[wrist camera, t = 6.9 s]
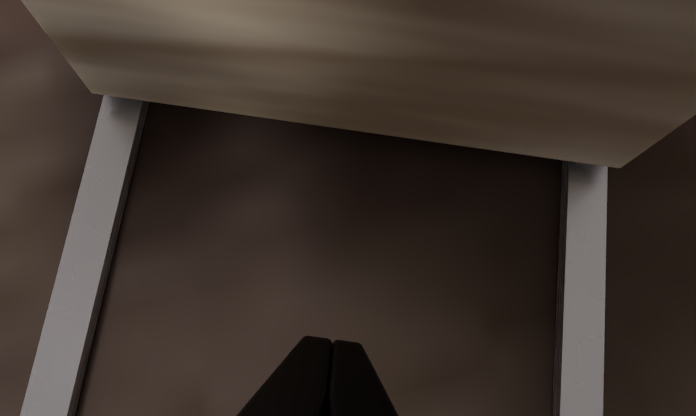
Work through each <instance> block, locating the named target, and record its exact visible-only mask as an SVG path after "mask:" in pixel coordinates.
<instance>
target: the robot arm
mask: <svg viewBox="0 0 696 416" xmlns="http://www.w3.org/2000/svg"><path fill="white" fill-rule="evenodd" d="M237 416H398V414H397V412H396V410H395V408H394V406H393V404H392V402H391V400H390V398H389V397H388V395H387V393H386V391H385V389H384V387H383V385H382V383H381V381H380V379H379V377H378V375H377V373H376V371H375V369H374V368H373V366H372V364H371V362H370V360H369V358H368V356H367V354H366V352H365V350H364V348H363V347H362V345H361V344H360V343H357V342H350V341H343V340H335V341H334V342H333V344H332V342H331V340H330V339H328V338H321V337H313V336H305V337H303V338H302V339H301V340H300V341H299V343H298V344H297V345H296V346H295V347H294V349H293V350H292V351H291V352H290V353H289V354H288V356H287V357H286V358H285V359H284V360H283V361H282V363H281V364H280V365H279V366H278V367H277V369H276V370H275V371H274V372H273V373H272V374H271V376H270V377H269V378H268V379H267V380H266V381H265V383H264V384H263V385H262V386H261V387H260V389H259V390H258V391H257V392H256V393H255V394H254V396H253V397H252V398H251V399H250V400H249V401H248V403H247V404H246V405H245V406H244V407H243V409H242V410H241V411H240V412H239V413H238V414H237Z"/></svg>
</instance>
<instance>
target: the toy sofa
mask: <svg viewBox="0 0 696 416" xmlns="http://www.w3.org/2000/svg"><path fill="white" fill-rule="evenodd" d="M21 1H22V2H23V4H24V5H25V6H26V8H27V9H28V10H29V12H30V13H31V14H32V16H33V17H34V18H35V19H36V21H37V22H38V23H39V25H40V26H41V27H42V29H43V30H44V31H45V33H46V34H47V35H48V37H49V38H50V39H51V40H52V42H53V43H54V44H55V46H56V47H57V48H58V50H59V51H60V52H61V54H62V55H63V56H64V58H65V59H66V60H67V62H68V63H69V64H70V65H71V67H72V68H73V69H74V71H75V72H76V73H77V75H78V76H79V77H80V79H81V80H82V81H83V83H84V84H85V85H86V86H87V88H88V89H89V90H90V92H91V93H93V94H100V95H107V96H114V97H121V98H128V99H135V100H142V101H149V102H156V103H163V104H171V105H178V106H185V107H192V108H199V109H206V110H213V111H220V112H227V113H234V114H241V115H248V116H255V117H262V118H269V119H276V120H283V121H290V122H297V123H304V124H311V125H318V126H325V127H332V128H339V129H346V130H353V131H360V132H368V133H375V134H382V135H389V136H396V137H403V138H410V139H417V140H424V141H431V142H438V143H445V144H452V145H459V146H466V147H473V148H480V149H487V150H494V151H501V152H508V153H515V154H522V155H529V156H536V157H543V158H550V159H558V160H565V161H572V162H579V163H586V164H593V165H600V166H607V167H614V168H621V167H623V166H624V165H626V164H627V163H628V162H630V161H631V160H633V159H634V158H635V157H637V156H638V155H640V154H641V153H642V152H644V151H645V150H647V149H648V148H649V147H651V146H652V145H654V144H655V143H656V142H658V141H659V140H661V139H662V138H664V137H665V136H666V135H668V134H669V133H671V132H672V131H673V130H675V129H676V128H678V127H679V126H680V125H682V124H683V123H685V122H686V121H687V120H689V119H690V118H692V117H693V116H694V115H696V0H21Z"/></svg>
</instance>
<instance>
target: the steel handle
mask: <svg viewBox="0 0 696 416" xmlns="http://www.w3.org/2000/svg"><path fill="white" fill-rule="evenodd" d="M148 107H149V101H142V100H135V99H128V98H121V97H114V96H107V95H104V96H103V100H102V104H101V108H100V112H99V115H98V119H97V123H96V127H95V131H94V135H93V138H92V142H91V146H90V150H89V154H88V158H87V161H86V165H85V169H84V173H83V177H82V181H81V184H80V188H79V192H78V196H77V200H76V203H75V207H74V211H73V215H72V219H71V223H70V226H69V230H68V234H67V238H66V242H65V246H64V249H63V253H62V257H61V261H60V265H59V269H58V272H57V276H56V280H55V284H54V288H53V292H52V295H51V299H50V303H49V307H48V311H47V315H46V318H45V322H44V326H43V330H42V334H41V338H40V341H39V345H38V349H37V353H36V357H35V360H34V364H33V368H32V372H31V376H30V380H29V383H28V387H27V391H26V395H25V399H24V403H23V406H22V410H21V414H20V416H75V413H76V409H77V404H78V400H79V396H80V392H81V388H82V383H83V379H84V375H85V371H86V367H87V362H88V358H89V354H90V350H91V346H92V341H93V337H94V333H95V329H96V325H97V320H98V316H99V312H100V308H101V304H102V299H103V295H104V291H105V287H106V283H107V278H108V274H109V270H110V266H111V262H112V258H113V253H114V249H115V245H116V241H117V237H118V232H119V228H120V224H121V220H122V216H123V211H124V207H125V203H126V199H127V195H128V190H129V186H130V182H131V178H132V174H133V169H134V165H135V161H136V157H137V153H138V148H139V144H140V140H141V136H142V132H143V127H144V123H145V119H146V115H147V111H148ZM607 172H608V167H607V166H600V165H593V164H586V163H579V162H572V161H565V160H562V178H561V203H560V228H559V253H558V278H557V303H556V329H555V354H554V379H553V404H552V416H603V387H604V333H605V279H606V225H607Z"/></svg>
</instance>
